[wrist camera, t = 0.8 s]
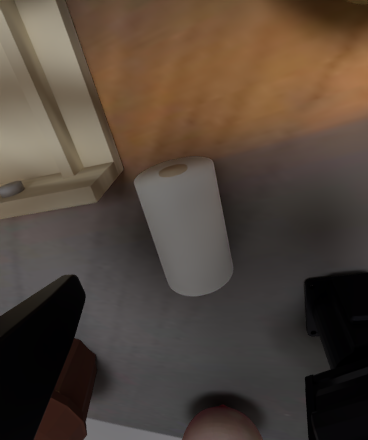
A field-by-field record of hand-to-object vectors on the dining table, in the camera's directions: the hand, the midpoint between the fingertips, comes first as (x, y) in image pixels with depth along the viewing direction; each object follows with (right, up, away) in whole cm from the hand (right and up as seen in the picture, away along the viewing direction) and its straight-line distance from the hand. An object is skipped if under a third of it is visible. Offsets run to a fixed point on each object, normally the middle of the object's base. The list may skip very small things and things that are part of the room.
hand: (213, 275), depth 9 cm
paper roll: (0, +3, +13) cm, 13 cm away
